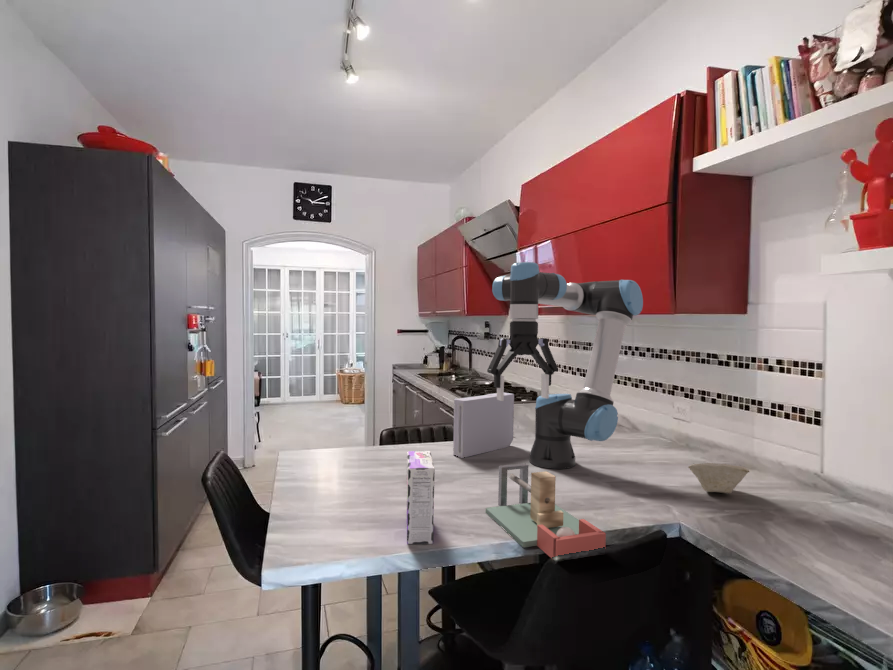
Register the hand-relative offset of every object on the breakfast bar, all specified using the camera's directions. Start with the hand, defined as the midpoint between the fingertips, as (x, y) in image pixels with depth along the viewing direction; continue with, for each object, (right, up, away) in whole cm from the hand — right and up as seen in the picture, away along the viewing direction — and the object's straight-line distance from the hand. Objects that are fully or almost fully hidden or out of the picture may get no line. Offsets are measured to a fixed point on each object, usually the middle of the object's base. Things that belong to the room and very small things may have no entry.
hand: (522, 399), depth 135 cm
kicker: (-1, -25, -15) cm, 29 cm away
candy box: (-27, -27, -23) cm, 44 cm away
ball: (+5, -25, -30) cm, 39 cm away
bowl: (+55, -27, +5) cm, 62 cm away
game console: (-7, -25, +48) cm, 55 cm away
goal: (+5, -27, -31) cm, 42 cm away
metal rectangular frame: (-3, -27, -6) cm, 27 cm away
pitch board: (+1, -27, -18) cm, 33 cm away
